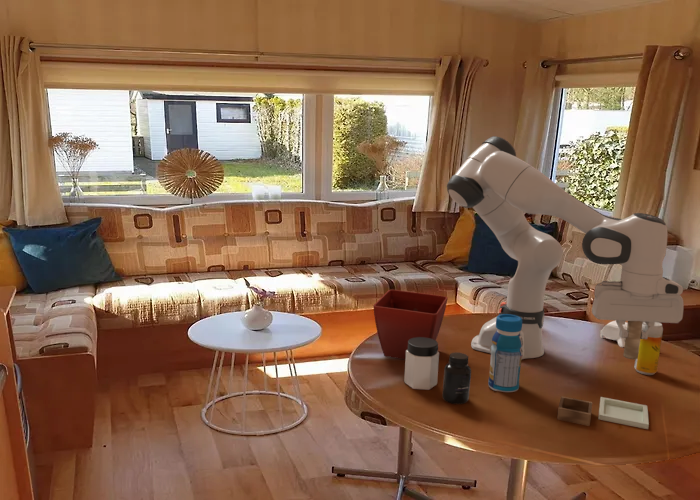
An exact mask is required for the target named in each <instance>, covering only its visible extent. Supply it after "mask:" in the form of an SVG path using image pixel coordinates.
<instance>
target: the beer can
mask: <svg viewBox="0 0 700 500" xmlns="http://www.w3.org/2000/svg"><path fill="white" fill-rule="evenodd" d="M645 326H646V323H645V322H643V324H642V330H643V329H644V327H645ZM663 331H664V328H663V324H662V322H655V324H654V327H653V328H652V329H651V331H650V332H649V333H648V338H647V339H640V345H639V353H638V359H634V360H635V361H634V369H635V371H636V372H637V373H639V374H642V375H645V376H646V375H647V376H653V375H655V373H657V372H658V368H659V367H658V366H659V360H660V353H661V345H662V339H663Z"/></svg>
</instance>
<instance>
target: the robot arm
mask: <svg viewBox="0 0 700 500" xmlns="http://www.w3.org/2000/svg"><path fill="white" fill-rule="evenodd" d="M446 188H447V189H446V190H447V193H448V195H449V196H450V198H451V199H452V200H453V201H454V203H456V204H457V205H459V206H460V207H462V208H466V209H468V208H470V209H471V208H472V209H473V210H474V211H475V212H476V213H477V215H478V216H479V218H481V220H483V222H484V223H485V224H486V225H487V226H488V227H489V229H490V230H491V232H492V233H493V234H494V236H495V238H496V239H497V240H498V242H499V244H500V245H501V249H503V251H504V252H505V253H506V255H508V256H509V257H510V258H511V259H513V260H515V261H517V268H516V271H515V274H514V275H513V277H511V278H510V279H509V281H508V284H507V295H506V296H507V297H506V302H505V301H502V302H501V303H500V305H499V313H498V315H501V314H511V315H516V316H519V317H521V318H522V329H521V332H519V333H520V335H521V337H522V340H523V346H522V350H523V355H522V358H521V360H524V359H525V360H526V359H534V358H539V357H541V356H543V355H544V354H545V351H544V350H545V349H544V346H543V345H544V344H543V326H544V321H545V308H544V302H545V296H546V295H545V294H546V287H547V285H548V284H547V283H548V281H549V278H550V276H551V273H552V271H553V270H554V269H555V268H557V267H558V266H559V264H560V263H561V262H562V259H563V256H564V255H563V254H564V250H563V248H562V245H561V243H560V242H559V241H558V240H557V239H556V238H554V237H553V236H552V235H550V234H548V233H545V232H543V231H540V230H538V229H536V228H535V227H533V226H532V225H531V224H530V223H529V221H528V220H527V218H526V216H525V213H526V214H528V215H529V214H530V215H543V216H545V215H547V216H550V217H551V216H552V217H555V218H558V219H561V220H563V221H565V222H567V223H568V224H570V225H572V226H573V227H575V228H576V229H578V230H579V231H581V232H582V233H583V234H584V235H583V238H582V243H581V247H582V251H583V254H584V255H585V257H586V258H587V259H588V260H589V261H590V262H592V263H594V264H597V265H603V266H604V265H605V266H606V265H621V266H622V267H621V274H620V279H619V280H618V281H617V280H616V281H615V280H613V281H608V280H602V281H601V282H598V283H597V284H596V285H595V287H594V291H593V294H594V298H593V302H592V306H591V314H592V315H593V316H594V317H595V318H596V319H597V320H602V321H603V320H604V321H608V320H609V321H616V323H617V325H618V327H619V329H620V332H619V336H620V337H621V338H628V333H629V332H628V331H627V330H626V329H624V327H623V325H625V322H628V321H642V322H645V323H646V326H645V327H644V329H643V330H642V331H641V338H640V339H647V338H648V333H649V332H650V331H651V329H652V328H653V327H654V324H655V322H659V323H661V324H662V323H665V324H669V323H670V324H679V323H680V322H681V321H682V320H683V317H684V299H683V297H682V294H683V291H684V288H683V287H684V286H682V285H681V284H679V283H677V282H676V281H674V280H672V279H670V278H667V277H664V276H663V275H664V269H663V261H664V259H665V257H666V253H667V245H668V227H667V224H666V222H665V221H664V220H663V219H662V218H661V217H658V216H655V215H652V214H649V213H643V212H636V213H632V214H631V215H630V216H627V217H625V218H618V217H612V216H608V215H605V214H603V213H601V212H599V211H598V210H597V209H594V208H592V207H591V206H589V205H588V204H586V203H585V202H583V201H582V200H580V199H578V198H576V197H574V196H573V195H571V194H570V193H569V192H567V191H566V190H564V189H563V188H562V187H561V186H559V185H558V184H557V183H555V182H554V181H553V180H552V179H550V178H549V177H548V176H546V175H545V174H544V173H543V172H542V171H540V170H539V169H537V168H536V167H534V166H532V165H531V164H529V163H527V161H524V160H523V159H521V158H519V157H518V156H517V152H516V149H515V148H514V146H513V145H512V144H511V143H510V142H509V141H508V140H506V139H505V138H503V137H501V136H496V135H495V136H490V137H489V138H487V139H486V140H484V141H483V142H482V143H481V145H480V146H478V147H477V148H476V149H475V150H473V152H472V153H471V154H470V155H469V156H467V158H466V159H465V161H464V162H463V163H462V165H461V166H460V167H459V168H458V169H457V171H456V172H455V174H453V175H452V176H451V177H450V178H449V180H448V181H447V184H446ZM496 318H497V316H496V317H492V319H489V320H488V321H486V322H485V323H484V324H483V325H482V327H480V330H479V334H477V335H476V336H474V337H473V338H472V340H471V343H470V344H471V345H470V346H471V348H472V349H473V350H476V351H479V352H484V353H487V354H491V352H490V349H491V346H492V345H493V343H492V338H493V335H494V334H495V332H496V331H497V329H496ZM622 324H623V325H622Z"/></svg>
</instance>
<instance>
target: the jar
mask: <svg viewBox="0 0 700 500" xmlns="http://www.w3.org/2000/svg"><path fill="white" fill-rule="evenodd" d="M439 358H440V352H439V342H438V341H437V340H436V341H435V340H433V339H431V338H426V337H415V338H411V339H409V341H408V350H406V358H405V359H404V360H405V363H404V377H403V378H404V379H403V380H404V381H403V382H404V383H405V384H406V385H408V386H409V387H410V388H411V389H413V390H426V391H429V390H431V389H433V387H435V386H437V384H438V375H439V373H438V372H439V363H440V362H439V360H440V359H439Z"/></svg>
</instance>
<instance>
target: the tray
mask: <svg viewBox="0 0 700 500" xmlns="http://www.w3.org/2000/svg"><path fill="white" fill-rule="evenodd" d="M598 420H601V421H604V422H610V423H614V424H620V425H624V426H630V427H635V428H639V429H645V430H649V427H650V426H649V425H650V424H649V423H650V422H649V411H648V405H646V404H640V403H637V402H629V401H624V400H619V399H613V398H610V397H605V396H604V397H603V396H600V399H599V408H598Z"/></svg>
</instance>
